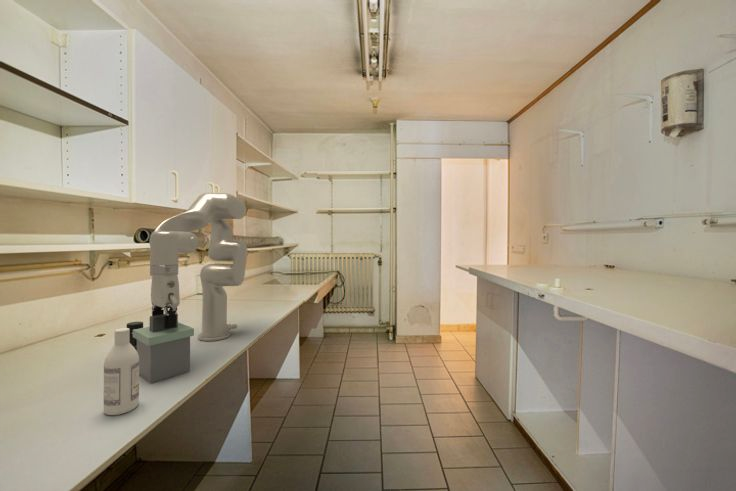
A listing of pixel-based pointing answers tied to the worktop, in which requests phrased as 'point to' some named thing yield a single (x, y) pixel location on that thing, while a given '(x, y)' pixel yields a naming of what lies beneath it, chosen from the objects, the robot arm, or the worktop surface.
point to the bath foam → (121, 375)
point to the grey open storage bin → (163, 359)
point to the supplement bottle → (132, 326)
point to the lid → (161, 331)
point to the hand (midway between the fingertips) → (163, 324)
